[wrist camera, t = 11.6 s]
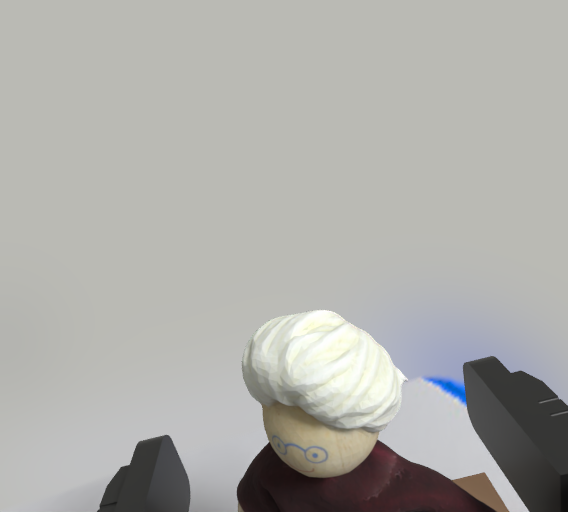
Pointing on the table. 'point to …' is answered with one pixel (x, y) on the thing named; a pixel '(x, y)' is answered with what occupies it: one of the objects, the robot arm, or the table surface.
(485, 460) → the table surface
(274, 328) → the grandmother figurine
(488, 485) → the gear board
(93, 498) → the table surface
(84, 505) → the table surface
